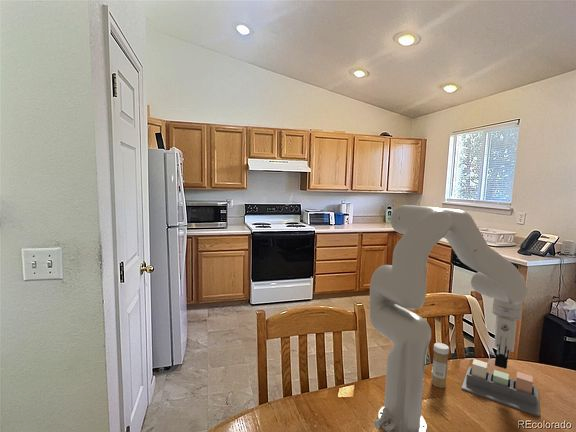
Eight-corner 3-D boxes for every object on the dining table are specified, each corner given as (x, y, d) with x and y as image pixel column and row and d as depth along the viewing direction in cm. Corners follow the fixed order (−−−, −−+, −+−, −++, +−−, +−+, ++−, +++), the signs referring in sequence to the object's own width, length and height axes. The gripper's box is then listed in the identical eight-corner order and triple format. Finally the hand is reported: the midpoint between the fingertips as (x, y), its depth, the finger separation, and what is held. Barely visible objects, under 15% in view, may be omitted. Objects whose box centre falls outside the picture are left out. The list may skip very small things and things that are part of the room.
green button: (507, 393, 101) (508, 379, 100) (492, 388, 103) (493, 375, 103) (507, 387, 104) (508, 374, 103) (493, 382, 106) (494, 369, 106)
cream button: (485, 381, 104) (486, 368, 104) (471, 376, 106) (472, 363, 106) (486, 375, 107) (487, 362, 107) (472, 371, 110) (473, 358, 109)
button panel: (539, 416, 92) (540, 405, 92) (461, 389, 104) (462, 378, 104) (537, 392, 103) (538, 381, 103) (467, 370, 115) (468, 360, 115)
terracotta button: (531, 396, 97) (532, 382, 97) (515, 391, 99) (516, 377, 99) (531, 389, 100) (532, 376, 100) (515, 384, 103) (516, 371, 102)
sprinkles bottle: (448, 384, 106) (451, 345, 105) (443, 390, 103) (446, 350, 102) (434, 378, 109) (437, 340, 108) (428, 383, 106) (431, 345, 105)
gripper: (521, 321, 93) (514, 381, 94) (521, 307, 105) (515, 361, 106) (490, 314, 97) (484, 371, 99) (494, 301, 109) (489, 353, 111)
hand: (500, 366), depth 103 cm, fingers closed
